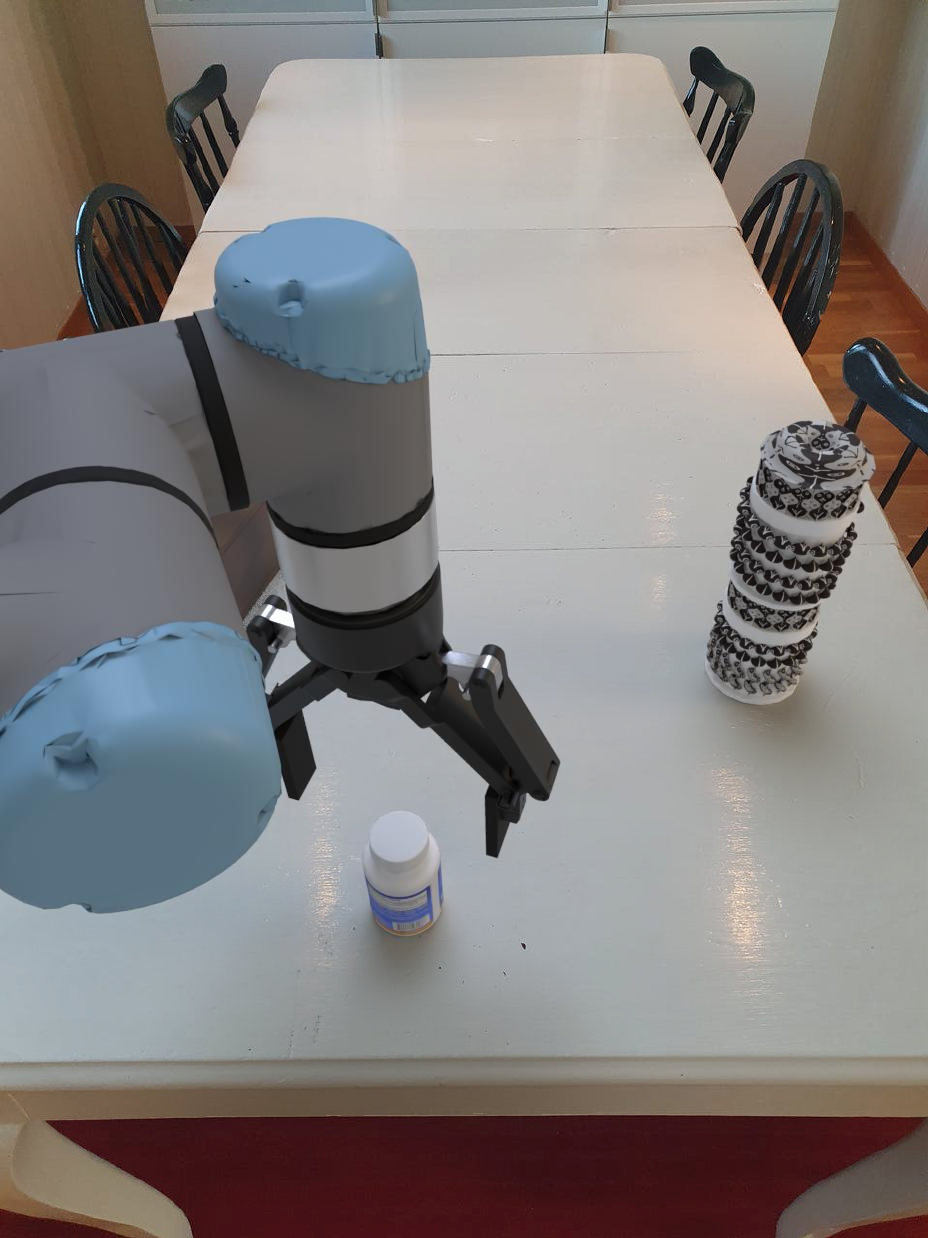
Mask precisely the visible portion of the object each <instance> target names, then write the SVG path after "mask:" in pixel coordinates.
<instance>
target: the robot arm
mask: <svg viewBox="0 0 928 1238" xmlns="http://www.w3.org/2000/svg"><path fill="white" fill-rule="evenodd" d="M213 282H214V289H215V293H214V295H213V296H212V302H213V307H211V308H205V309H199V310H195V311H192V315H186V316H182V317H177V318H174V319H166V320H162V321H155V322H151V323H146V324H140V325H134V326H129V327H124V328H119V329H113V330H108V331H103V332H97V333H93V334H87V335H82V336H75V337H71V338H65V339H59V340H55V341H50V342H44V343H39V344H33V345H27V346H22V347H17V348H13V349H3V348H2V349H1V348H0V890H1V891H2V892H4V894H7V895H9V896H10V897H12V898H14V899H16V900H17V901H19V902H22V903H23V904H26V905H29V906H32V907H35V908H38V909H42V910H59V909H61V908H64V907H67V906H70V905H78V906H81V907H82V908H83V909H84V910H85V911H86V912H88V913H89V914H90V913H92V914H97V915H99V914H100V915H102V914H115V913H123V912H128V911H132V910H138V909H143V908H146V907H150V906H155V905H158V904H161V903H163V902H166V901H169V900H172V899H174V898H176V897H180V896H182V895H184V894H186V893H189V892H191V891H193V890H194V889H195V890H196V889H197V888H199V887H201V886H202V885H204V884H206V883H208V882H210V881H212V880H213V879H215V878H216V877H218V876H219V875H221V874H222V873H224V872H225V871H226V870H228V869H229V868H230V867H232V866H233V865H234V864H236V862H238V861H239V860H240V859H241V858H242V857H243V856H244V855H246V854H247V853H248V851H249V850H250V849H251V848H252V847H253V846H254V845H255V844H256V842H257V841H258V840H259V838H261V836H262V834H263V833H264V832H265V830H266V828H267V826H268V825H269V822H270V821H271V819H272V816H273V815H274V813H275V809H276V805H277V804H278V800H279V798H280V797H281V796H282V794H283V791H282V781H283V783H284V787H285V790H286V794H287V798H288V799H290V800H295V801H298V802H300V800H301V798H302V796H303V794H304V792H305V791H306V788H307V787H308V785H309V784H310V782H311V779H312V778H313V776H314V774H315V772H316V770H317V764H316V760H315V756H314V752H313V748H312V744H311V739H310V736H309V732H308V728H307V724H306V720H305V715H304V711H303V710H304V709H305V708H306V707H308V706H309V705H310V704H312V703H313V702H315V701H316V702H317V703H318V702H320V701H322V700H323V699H324V698H326V697H327V696H328V695H330V694H331V693H333V692H334V691H336V690H339V691H341V692H343V693H345V694H346V698H348V699H352V700H356V701H360V702H373V703H376V704H377V705H381V706H382V707H385V708H388V709H392V710H395V711H400V710H401V712H402V713H403V714H405V715H406V716H407V717H408V718H409V720H411V721H412V722H413V723H414V724H415V725H416V726H417V727H418V728H419V729H422V730H424V729H428V728H429V729H431V730H432V731H433V732H434V733H435V734H436V735H437V736H438V737H439V738H440V739H441V740H442V741H443V742H444V743H445V744H446V745H448V746H449V748H451V750H452V751H454V752H455V753H456V754H457V755H458V756H459V757H460V758H461V759H462V760H463V761H464V762H465V763H466V764H467V765H468V766H469V767H470V768H471V769H472V770H473V771H474V772H475V773H476V774H477V775H479V776H480V777H481V778H482V779H483V780H484V781H485V782H486V783H487V785H488V786H487V787H486V788H487V789H486V791H485V794H484V824H485V825H484V826H485V856H489V857H491V858H495V859H498V858H499V855H500V853H501V850H502V847H503V844H504V841H505V839H506V835H507V833H508V830H509V827H510V824H515V825H517V824H518V823H519V821H520V820H521V817H522V814H523V811H524V808H525V806H526V803H527V794H528V795H529V796H530V797H531V798H532V799H534V800H535V801H539V802H547V801H548V800H549V799H550V797H551V794H552V791H553V789H554V785H555V783H556V782H555V781H556V779H557V776H558V773H559V769H560V765H561V759H560V758H559V756H558V755H557V753H556V752H555V749H554V748H553V747H552V745H551V743H550V741H549V740H548V738H547V736H546V735H545V733H544V732H543V731H542V729H541V727H540V726H539V724H538V722H537V720H536V719H535V717H534V716H533V714H532V712H531V711H530V709H529V708H528V705H527V704H526V702H525V701H524V699H523V698H522V696H521V694H520V693H519V691H518V689H517V688H516V686H515V685H514V683H513V681H512V680H511V678H510V676H509V672H508V664H507V657H506V653H505V651H504V650H503V648H502V647H500V646H499V645H497V644H493V643H488V644H485V645H484V646H483V647H482V649H481V651H480V654H473V653H467V652H460V651H453V648H452V646H451V645H450V643H449V642H448V640H447V639H446V637H445V635H444V603H443V600H444V599H443V587H442V585H443V584H442V572H441V563H440V561H439V552H440V546H439V532H438V531H439V530H438V518H437V516H438V515H437V502H436V491H435V482H434V481H435V480H434V473H433V447H432V426H431V425H432V423H431V422H432V421H431V398H430V395H431V394H430V375H429V373H430V372H429V371H430V368H431V362H432V361H431V350H430V348H429V349H428V342H427V335H426V326H425V317H424V310H423V309H424V308H423V302H422V297H421V290H420V284H419V279H418V271H417V268H416V265H415V262H414V259H413V258H412V256H411V254H410V251H409V250H408V249H407V248H406V247H404V246H403V245H402V244H401V243H400V242H399V241H398V240H397V238H396V237H395V236H393V235H392V234H390V233H389V232H388V231H386V230H384V229H381V228H380V227H378V226H375V225H373V224H370V223H367V222H364V221H360V220H355V219H350V218H343V217H331V216H330V217H328V216H321V217H320V216H317V217H316V216H315V217H301V218H293V219H288V220H282V221H278V222H274V223H270V224H268V225H267V226H266V227H265V228H264V229H263V230H262V231H260V232H254V233H247V234H243V235H241V236H239V237H238V238H236V239H234V240H233V241H232V242H231V243H229V245H227V246H226V247H225V248H224V250H223V251H222V252H221V254H220V255H219V257H218V258H217V261H216V264H215V265H214V270H213ZM263 501H266V505H267V511H268V516H269V520H270V525H271V529H272V534H273V538H274V543H275V547H276V552H277V557H278V561H279V566H280V569H279V570H280V575H281V577H282V579H283V581H284V584H285V585H284V586H285V593H286V597H287V601H288V605H287V602H286V601H285V600H284V599H283V598H282V597H281V596H279V595H277V594H269V595H268V596H267V597H266V598H265V600H264V601H263V603H262V604H261V606H260V607H259V608H258V610H257V612H255V614H254V616H252V618H251V620H250V621H249V623H248V624H247V625H246V626H245V624H244V620H243V621H242V618H241V615H240V612H239V609H238V607H237V604H236V601H235V598H234V595H233V592H232V589H231V586H230V583H229V580H228V578H227V575H226V572H225V569H224V566H223V563H222V560H221V554H220V550H219V546H218V543H217V540H216V537H215V534H214V530H213V527H212V524H211V520H210V517H212V516H215V515H219V514H222V513H226V512H229V511H230V512H232V511H237V510H241V509H245V508H249V505H250V504H253V503H258V502H263ZM288 606H289V610H290V612H289V611H288ZM292 641H295V642H296V643H295V644H296V646H297V647H298V649H299V651H301V653H303V655H304V656H305V657H306V658H307V659H308V660H309V662H308V663H306V664H305V665H304V666H303V667H301V668H300V669H299V670H297V671H296V672H295V673H294V674H293V675H291V676H290V677H289V678H287V679H286V680H285V681H283V683H281V684H280V683H279V682H277V683H276V684H275V685H274V687H273V689H272V691H271V692H270V693H267V692H266V691H267V690H266V689H267V688H266V687H267V685H266V678H267V676H268V674H269V672H270V671H271V669H272V666H273V663H274V661H275V659H276V657H277V655H278V653H279V652H280V649H285V648H287V647H288V646H289V644H290V643H291V642H292ZM279 684H280V685H279ZM461 688H462V689H461ZM426 695H428V696H427V698H426V700H425V701H424V700H423V698H424V697H425V696H426Z"/></svg>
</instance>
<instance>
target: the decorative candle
mask: <svg viewBox="0 0 928 1238" xmlns="http://www.w3.org/2000/svg"><path fill="white" fill-rule="evenodd" d="M759 449H760V459H759V463H758V467H757V472H756V473H755V474H754V475H752V476H749V477H748V478H747V479H746V482H745V483H746V484H745V485H746V486H745V487H743V488H741V490H740V491H739V497H740V499H741V500H742V501H740V502H739V503H738V504H737V506H736V511H737V513H738V514H737V516H736V518H735V525H734V526H733V528H732V531H733V533H734V535H735V536H733V537H732V538H731V540H730V545H731V547H732V548H731V549H730V551H729V559H728V563H727V565H728V567H727V568H728V569H727V570H728V578H729V581H728V584H727V585H726V587H725V588H724V592H723V597H722V600H720V601H718V603H717V605H716V607H717V608H716V609H717V610H718V611H717V612H716V614H715V615H714V617H713V621H714V622H715V624H713V626H712V627H711V629H710V631H709V637H710V638H709V639H708V642H707V644H706V648H707V650H706V654H705V656H704V672H705V674H706V675H707V677H708V679H709V681H710V683H711V684H712V686H714V687H715V688H716V689H717V690H719V691H720V692H721V693H722V694H723V695H724V696H726V697H729V698H731V699H733V700H735V701H738V702H740V703H743V704H748V705H749V704H750V705H757V706H765V705H771V704H777V703H780V702H782V701H784V700H786V698H788V697H790V696H792V695H793V694H794V691H795V689H796V688H797V686H798V684H799V682H800V676H803V674H804V670H803V669H802V668H801V667H800V665H806V664H808V661H809V659H808V658H807V656H808V653H809V652H810V651H811V650H812V648H813V645H814V642H812V641H813V639H815V638H817V636H818V633H819V632H818V629H817V626H818V624H819V618H820V615H821V606H822V605H821V604H822V603H823V602H826V601H827V600H828V598H830V597H831V596H832V591H833V590H835V588H836V587H837V582H838V579H839V576H840V575H841V574H842V573H843V567H842V566H844V565H845V564H846V563H847V562H846V561H847V560H846V559H847V558H848V557H850V556H851V555H852V550H851V549H852V547H853V545H854V541H855V540H857V538H858V533H857V531H856V530H855V528H856V527H855V526H856V525H855V522H854V519H855V517H856V515H857V514H861V513H863V512H864V511H865V508H866V507H865V506H866V505H865V504H864V502H863V501H862V500H861V493H862V491H863V489H864V487H865V483H867V482H868V481H870V480H871V478H872V476H873V474H874V473H875V471H876V469H877V468H876V462H875V457H874V455H873V453H872V452H871V451H870V450H869V449H868V448H867V447H866V446H865V445H864V443H863V441H862V440H861V439H860V438H859V436H857V435H856V433H855V432H853V430H850V429H849V428H847V427H845V426H843V425H841V424H838V423H835V422H832V421H829V420H821V419H807V420H800V421H796V422H793V423H791V424H789V425H787V426H785V427H782V428H780V429H779V430H776V431H774V432H772V433H770V434H768V435H767V436H766V437H765V438H764V440H763V441H762V442H761V444H760V446H759ZM845 534H846V536H845Z"/></svg>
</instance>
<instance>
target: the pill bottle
mask: <svg viewBox="0 0 928 1238" xmlns="http://www.w3.org/2000/svg"><path fill="white" fill-rule="evenodd" d="M440 851H441V850H440V847H439V844H438V842H437V840H436V838H435V837H434V836H433V834H432V833H431V832H430V831H428V827H427V825H426V823H425V822H424V820H423V819H422V818H421V817H420V816H418V815H417V814H415V813H413V812H410V811H407V810H394V811H389V812H387V813H385V814H383V815H381V816H380V817H379V818H377V819H376V820H375V821H374V823H373V824H372V826H371V828H370V831H369V834H368V840H367V841H366V844H365V846H364V848H363V853H362V860H361V861H362V868H363V874H364V878H365V883H366V889H367V894H368V899H369V905H370V909H371V913H372V915H373V917H374V920H375V921H376V923H377V924H378V925H379V927H381V928H382V929H383V930H384V931H386V932H388V933H389V934H392V935H394V936H398V937H411V936H416V935H418V934H421V933H423V932H425V931H427V930H428V929H429V928H431V927H432V926H433V925H434V924H435V923H436V921H437V920H438V919H439V917H440V915H441V913H442V910H443V906H444V889H443V888H444V887H443V875H442V859H441V852H440Z"/></svg>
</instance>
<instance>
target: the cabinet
mask: <svg viewBox="0 0 928 1238" xmlns="http://www.w3.org/2000/svg"><path fill="white" fill-rule="evenodd" d="M210 520H211V524H212V527H213V530H214V534H215V537H216V540H217V543H218V546H219V550H220V554H221V560H222V563H223V566H224V569H225V572H226V575H227V578H228V580H229V583H230V586H231V589H232V592H233V595H234V598H235V601H236V604H237V607H238V609H239V612H240V615H241V618H242V621H243V622H244V619H245V618H246V617H247V615H248V614H249V612H250V611H251V609H252V608H253V607H254V606H255V604H256V603H257V602H258V600H259V598H260V597H261V596H262V594H263V593H264V592H265V590H266V589H267V587H268V586H269V585H270V583H271V582H272V580H273V579H274V578H275V576H276V575H277V574H278V572H279V570H280V566H279V561H278V557H277V552H276V547H275V543H274V538H273V534H272V529H271V525H270V520H269V516H268V511H267V505H266V501H263V502H258V503H253V504H250V505H249V508H245V509H241V510H237V511H232V512H230V511H229V512H226V513H222V514H219V515H215V516H212V517H210Z"/></svg>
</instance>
